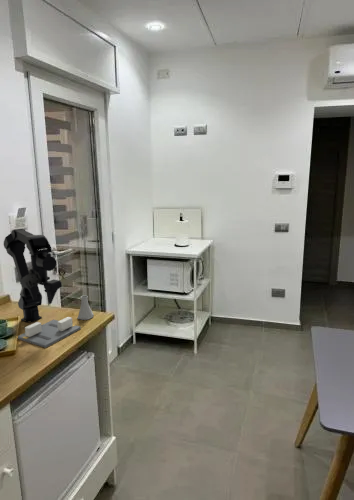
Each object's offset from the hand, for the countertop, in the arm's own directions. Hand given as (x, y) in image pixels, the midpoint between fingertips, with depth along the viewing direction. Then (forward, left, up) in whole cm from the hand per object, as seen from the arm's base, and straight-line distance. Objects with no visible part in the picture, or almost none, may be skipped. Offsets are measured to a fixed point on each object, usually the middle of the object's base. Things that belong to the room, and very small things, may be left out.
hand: (42, 301), depth 152 cm
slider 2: (+10, +3, -11) cm, 15 cm away
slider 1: (+2, -7, -11) cm, 13 cm away
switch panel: (+6, -3, -12) cm, 14 cm away
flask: (+7, +17, -12) cm, 23 cm away
